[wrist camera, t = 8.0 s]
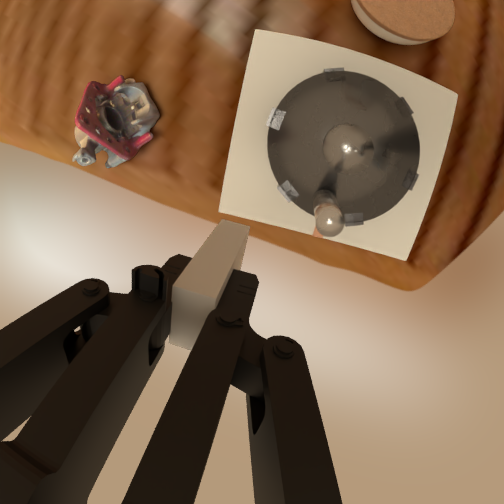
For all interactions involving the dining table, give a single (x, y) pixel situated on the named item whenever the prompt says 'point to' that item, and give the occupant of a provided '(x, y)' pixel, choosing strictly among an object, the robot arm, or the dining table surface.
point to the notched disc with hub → (343, 148)
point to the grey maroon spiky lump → (114, 121)
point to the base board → (255, 130)
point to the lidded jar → (406, 19)
